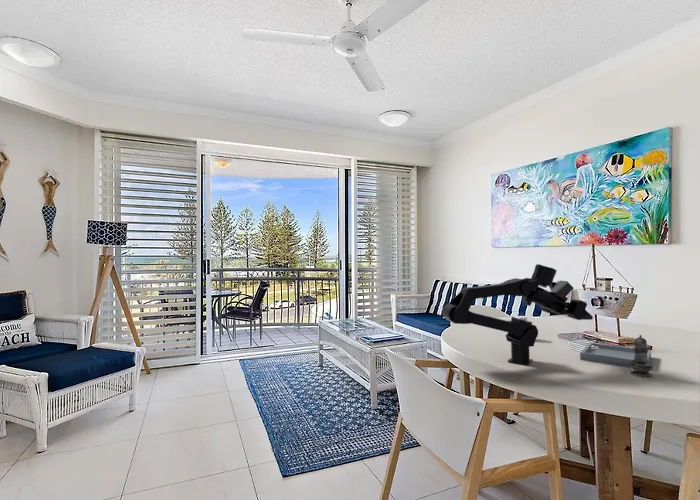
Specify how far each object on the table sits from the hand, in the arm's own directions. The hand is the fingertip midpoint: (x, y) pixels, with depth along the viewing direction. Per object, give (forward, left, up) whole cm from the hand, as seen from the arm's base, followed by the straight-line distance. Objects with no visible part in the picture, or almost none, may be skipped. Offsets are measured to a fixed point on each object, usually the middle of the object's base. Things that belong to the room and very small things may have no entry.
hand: (582, 315), depth 129 cm
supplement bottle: (+18, +25, -15) cm, 34 cm away
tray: (+7, -9, -15) cm, 18 cm away
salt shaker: (-8, -17, -15) cm, 24 cm away
